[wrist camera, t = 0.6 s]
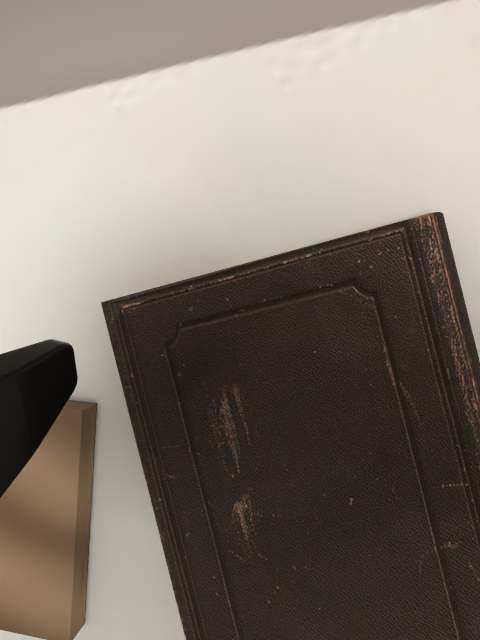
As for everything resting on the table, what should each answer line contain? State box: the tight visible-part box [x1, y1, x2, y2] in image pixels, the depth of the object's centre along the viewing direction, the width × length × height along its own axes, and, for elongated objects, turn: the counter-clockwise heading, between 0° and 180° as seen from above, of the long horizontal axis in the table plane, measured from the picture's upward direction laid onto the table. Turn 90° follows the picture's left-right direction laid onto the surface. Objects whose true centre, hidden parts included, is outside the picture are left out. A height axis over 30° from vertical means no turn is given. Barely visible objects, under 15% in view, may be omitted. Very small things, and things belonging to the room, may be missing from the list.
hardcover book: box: [101, 212, 480, 640], centre depth 22 cm, size 16×23×2 cm
